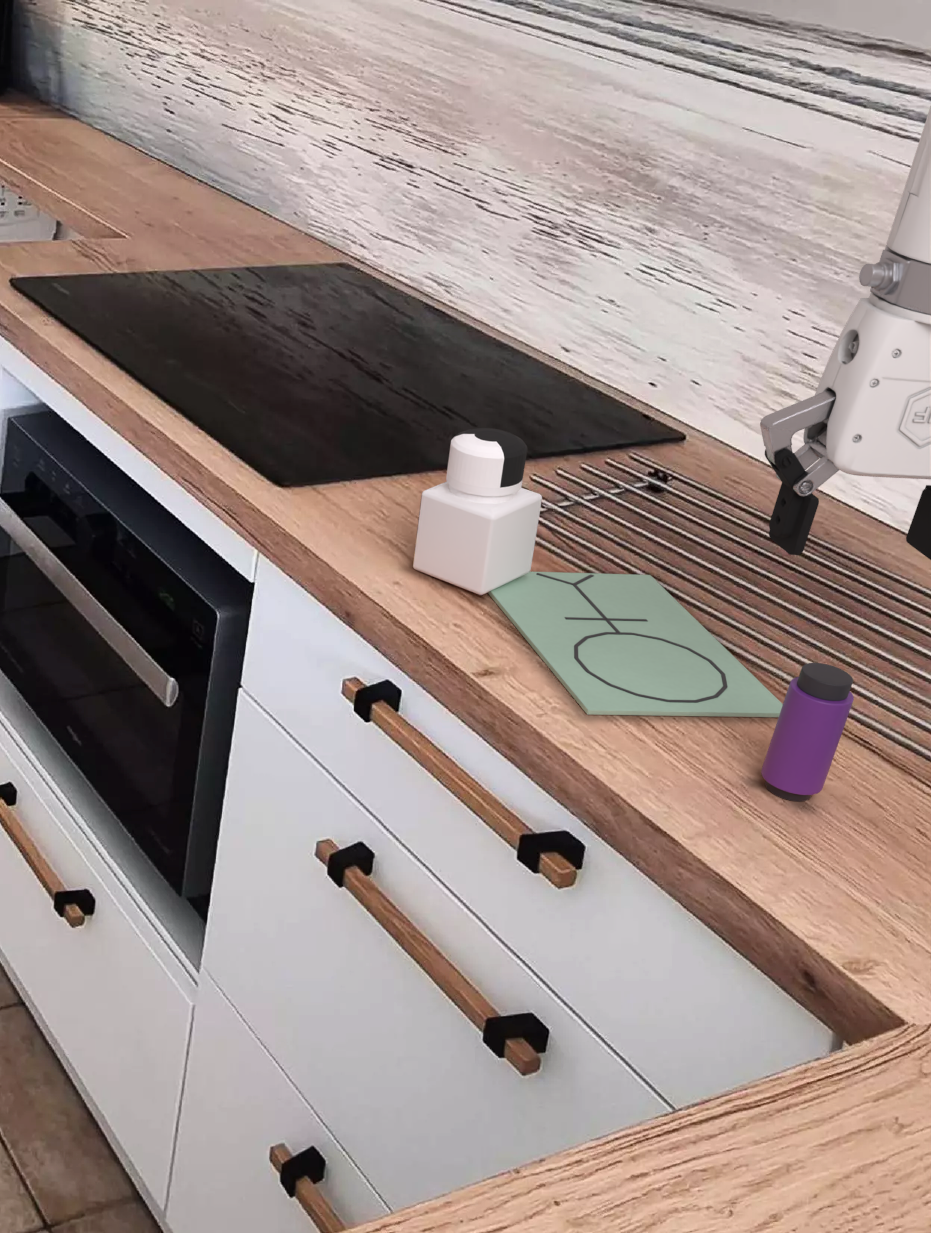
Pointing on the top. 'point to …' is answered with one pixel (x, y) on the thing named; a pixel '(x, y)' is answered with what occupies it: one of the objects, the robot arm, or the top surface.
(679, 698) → the sketch card
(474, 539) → the medicine bottle
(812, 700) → the cylinder
